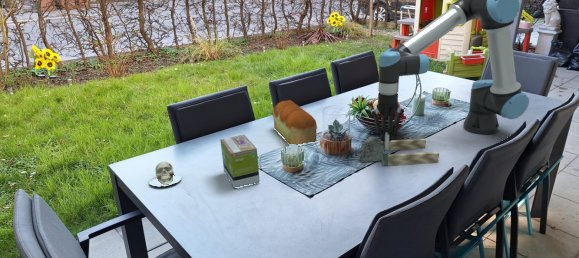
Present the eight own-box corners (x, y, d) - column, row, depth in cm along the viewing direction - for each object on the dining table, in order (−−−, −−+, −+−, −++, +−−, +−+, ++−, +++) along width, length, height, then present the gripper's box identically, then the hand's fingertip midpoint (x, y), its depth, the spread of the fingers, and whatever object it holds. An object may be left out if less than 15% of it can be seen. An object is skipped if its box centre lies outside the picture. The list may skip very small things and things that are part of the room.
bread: (317, 143, 189) (317, 112, 184) (291, 148, 185) (290, 116, 180) (297, 126, 211) (296, 97, 206) (273, 130, 208) (271, 101, 202)
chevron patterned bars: (424, 147, 181) (425, 135, 179) (438, 162, 166) (439, 150, 164) (373, 150, 180) (373, 138, 178) (383, 166, 165) (383, 153, 163)
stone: (374, 140, 164) (376, 130, 173) (354, 153, 168) (356, 143, 177) (390, 158, 165) (390, 147, 174) (369, 171, 169) (371, 160, 178)
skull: (185, 183, 156) (162, 167, 151) (166, 202, 157) (143, 188, 152) (184, 168, 167) (163, 153, 162) (166, 187, 168) (145, 172, 163)
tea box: (223, 173, 165) (219, 138, 159) (247, 168, 168) (245, 133, 163) (234, 190, 152) (230, 152, 146) (260, 184, 155) (257, 147, 150)
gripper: (401, 88, 167) (398, 144, 175) (369, 90, 166) (367, 146, 174) (407, 94, 160) (404, 151, 168) (373, 96, 159) (372, 153, 167)
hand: (385, 148), depth 171 cm, fingers closed
